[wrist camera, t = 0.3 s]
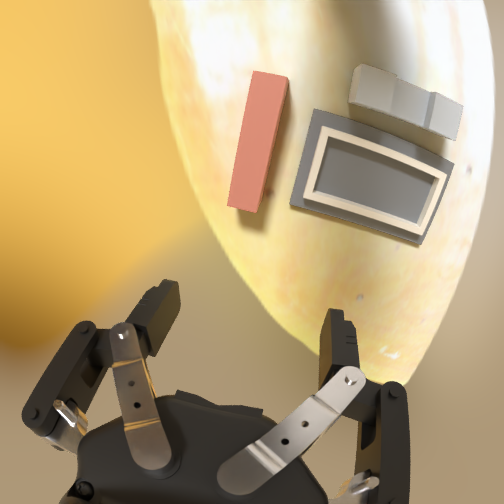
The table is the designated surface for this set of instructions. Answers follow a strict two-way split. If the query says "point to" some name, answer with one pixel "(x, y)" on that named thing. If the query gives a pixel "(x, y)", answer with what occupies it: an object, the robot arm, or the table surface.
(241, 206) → the pink rectangular brick
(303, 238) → the table surface
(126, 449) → the robot arm
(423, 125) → the stepped grey block
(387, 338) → the table surface
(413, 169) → the jig
